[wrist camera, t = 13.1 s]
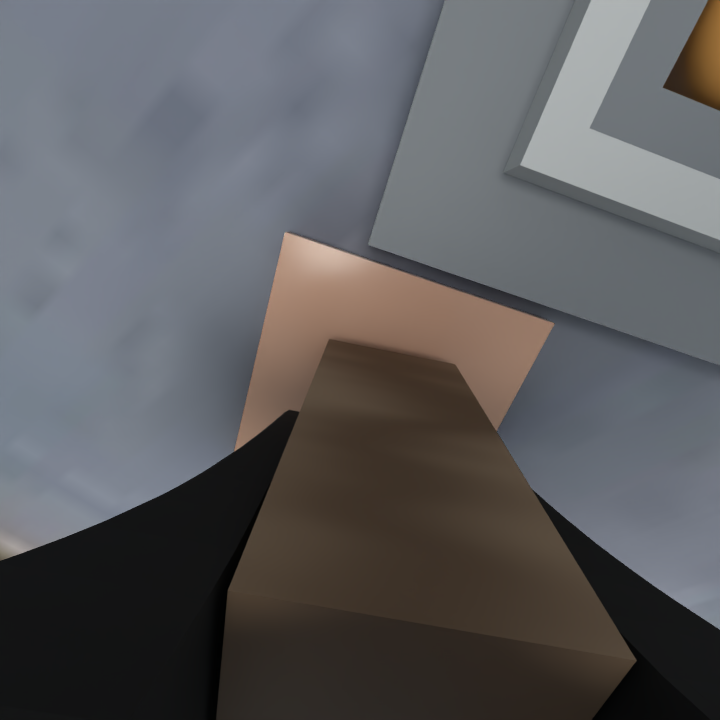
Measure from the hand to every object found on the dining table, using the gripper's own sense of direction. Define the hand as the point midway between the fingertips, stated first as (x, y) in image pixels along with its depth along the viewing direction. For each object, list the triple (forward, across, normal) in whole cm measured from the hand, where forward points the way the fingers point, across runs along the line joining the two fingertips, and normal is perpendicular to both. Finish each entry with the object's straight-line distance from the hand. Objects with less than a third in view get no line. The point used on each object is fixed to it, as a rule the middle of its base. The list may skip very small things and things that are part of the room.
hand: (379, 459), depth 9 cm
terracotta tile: (+4, 0, 0) cm, 4 cm away
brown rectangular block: (+2, 0, 0) cm, 3 cm away
